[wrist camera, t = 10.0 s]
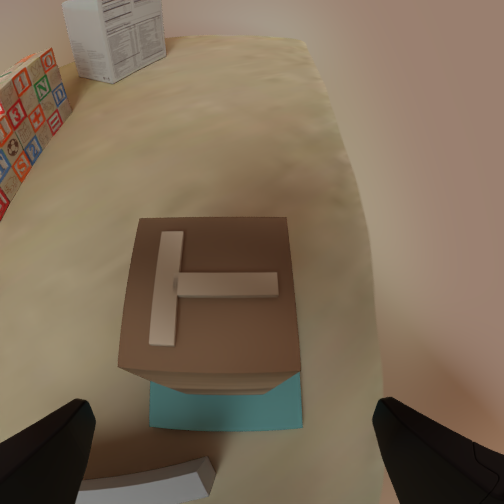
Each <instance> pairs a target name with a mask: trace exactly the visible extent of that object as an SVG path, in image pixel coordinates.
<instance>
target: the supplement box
mask: <svg viewBox="0 0 504 504" xmlns="http://www.w3.org/2000/svg"><path fill="white" fill-rule="evenodd" d="M62 8H63V13H64V18H65V22H66V27H67V32H68V36H69V40H70V44H71V48H72V52H73V55H74V59H75V63H76V67H77V71H78V74H79V77H83V78H88V79H93V80H98V81H102V82H107V83H111V84H114V83H116V82H117V81H119V80H121V79H123V78H124V77H126V76H128V75H130V74H132V73H134V72H135V71H137V70H139V69H141V68H143V67H145V66H147V65H149V64H151V63H153V62H155V61H157V60H159V59H161V58H164V57H166V47H165V38H164V27H163V15H162V3H161V0H68V1H65V2H63V3H62Z"/></svg>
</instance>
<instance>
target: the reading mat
mask: <svg viewBox="0 0 504 504" xmlns="http://www.w3.org/2000/svg"><path fill="white" fill-rule="evenodd" d="M149 427H158V428H168V429H179V430H195V431H269V430H285V429H297V428H303V426H302V406H301V388H300V372H298V373H297V374H295V375H294V376H292V377H291V378H289V379H287V380H286V381H284V382H283V383H281V384H280V385H278V386H276V387H275V388H273V389H272V390H270V391H268V392H267V393H265V394H263V395H194V394H185V393H182V392H179V391H176V390H173V389H171V388H168V387H165V386H162V385H160V384H157V383H155V382H152V381H150V416H149Z"/></svg>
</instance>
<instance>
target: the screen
mask: <svg viewBox="0 0 504 504" xmlns="http://www.w3.org/2000/svg"><path fill="white" fill-rule="evenodd" d="M215 477H216V473H215V471H214V469H213V467H212V465H211V463H210V460H209V458H208V456H206V457H203V458H199V459H196V460H192V461H188V462H184V463H181V464H177V465H173V466H168V467H164V468H160V469H155V470H150V471H145V472H140V473H134V474H128V475H122V476H116V477H108V478H100V479H91V480H82V482H81V486H80V489H79V492H78V496H77V499H76V503H75V504H178V503H183V502H188V501H192V500H196V499H200V498H204V497H208V496H209V494H210V491H211V489H212V486H213V483H214V480H215Z"/></svg>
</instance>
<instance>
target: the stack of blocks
mask: <svg viewBox="0 0 504 504" xmlns="http://www.w3.org/2000/svg"><path fill="white" fill-rule="evenodd" d="M71 113H72V109H71V107H70V104H69V101H68V98H67V96H66V93H65V90H64V86H63V83H62V79H61V75H60V72H59V68H58V66H57V64H56V61H55V57H54V53H53V49H52V48H49V49H46V50H42V51H40V52H37V53H35V54H32V55H30V56H27V57H25V58H23V59H22V60H20V61H19V62H18V63H17V64H15V65H14V66H12V67H10V68H9V69H7V70H6V71H5V72H4V73H3V74H2V75H0V221H1V219H2V217H3V215H4V213H5V211H6V209H7V207H8V205H9V203H10V202H11V201H12V199H13V197H14V195H15V194H16V192H17V190H18V189H19V187H20V185H21V183H22V182H23V180H24V179H25V177H26V175H27V174H28V172H29V171H30V169H31V168H32V165H33V164H34V163H35V161H36V160H37V158H38V157H39V155H40V154H41V152H42V150H43V149H44V148H45V146H46V145H47V144H48V142H49V141H50V140H51V138H52V137H53V136H54V135H55V133H56V132H57V131H58V129H59V128H60V127H61V125H62V124H63V123H64V122H65V121H66V119H67V118H68V117H69V116H70V114H71Z"/></svg>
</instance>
